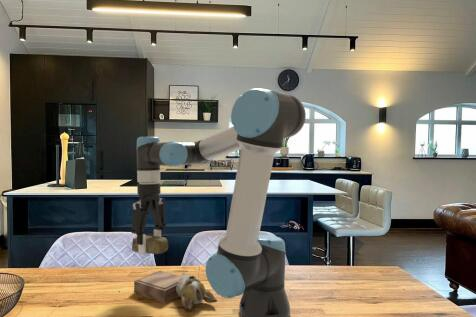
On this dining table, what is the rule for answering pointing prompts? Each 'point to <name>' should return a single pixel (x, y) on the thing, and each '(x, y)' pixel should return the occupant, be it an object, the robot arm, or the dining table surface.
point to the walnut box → (158, 286)
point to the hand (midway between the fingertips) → (150, 251)
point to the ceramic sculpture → (192, 291)
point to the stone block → (152, 245)
